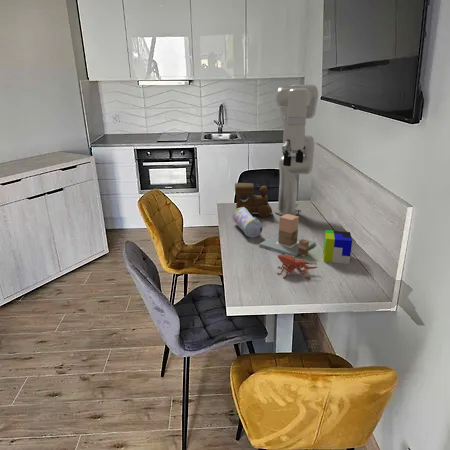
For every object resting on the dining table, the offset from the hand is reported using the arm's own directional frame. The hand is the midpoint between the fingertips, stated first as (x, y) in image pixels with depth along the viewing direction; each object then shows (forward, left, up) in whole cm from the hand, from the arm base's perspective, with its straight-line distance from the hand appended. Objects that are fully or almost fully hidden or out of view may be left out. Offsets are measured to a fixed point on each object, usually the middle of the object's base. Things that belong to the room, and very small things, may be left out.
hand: (293, 164), depth 165 cm
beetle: (+21, +17, -37) cm, 45 cm away
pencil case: (-3, -25, -37) cm, 44 cm away
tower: (+4, +10, -36) cm, 38 cm away
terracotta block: (0, 0, -29) cm, 29 cm away
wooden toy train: (-25, -37, -37) cm, 58 cm away
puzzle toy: (-2, +22, -37) cm, 43 cm away
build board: (0, 0, -36) cm, 36 cm away
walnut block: (0, 0, -35) cm, 35 cm away
